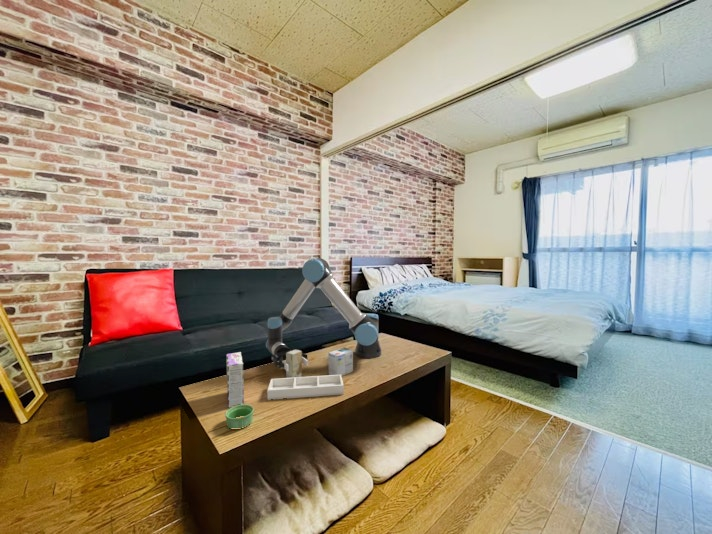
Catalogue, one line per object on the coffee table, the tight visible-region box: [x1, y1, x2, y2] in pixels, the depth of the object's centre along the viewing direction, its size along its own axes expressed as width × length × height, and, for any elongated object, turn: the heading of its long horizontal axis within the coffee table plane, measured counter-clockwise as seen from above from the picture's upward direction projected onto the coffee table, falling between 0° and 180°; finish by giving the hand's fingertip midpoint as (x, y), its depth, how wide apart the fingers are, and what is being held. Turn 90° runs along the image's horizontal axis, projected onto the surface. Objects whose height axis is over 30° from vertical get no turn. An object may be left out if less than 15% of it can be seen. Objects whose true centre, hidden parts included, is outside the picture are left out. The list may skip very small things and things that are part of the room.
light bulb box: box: [327, 347, 354, 377], centre depth 140 cm, size 11×7×11 cm, turn 134°
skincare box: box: [285, 349, 303, 378], centre depth 134 cm, size 6×4×12 cm
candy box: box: [226, 351, 245, 408], centre depth 115 cm, size 14×6×16 cm, turn 24°
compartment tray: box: [266, 374, 345, 401], centre depth 122 cm, size 30×11×4 cm, turn 98°
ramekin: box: [224, 403, 255, 429], centre depth 99 cm, size 9×9×4 cm
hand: (297, 365), depth 131 cm, fingers open, 9 cm apart
